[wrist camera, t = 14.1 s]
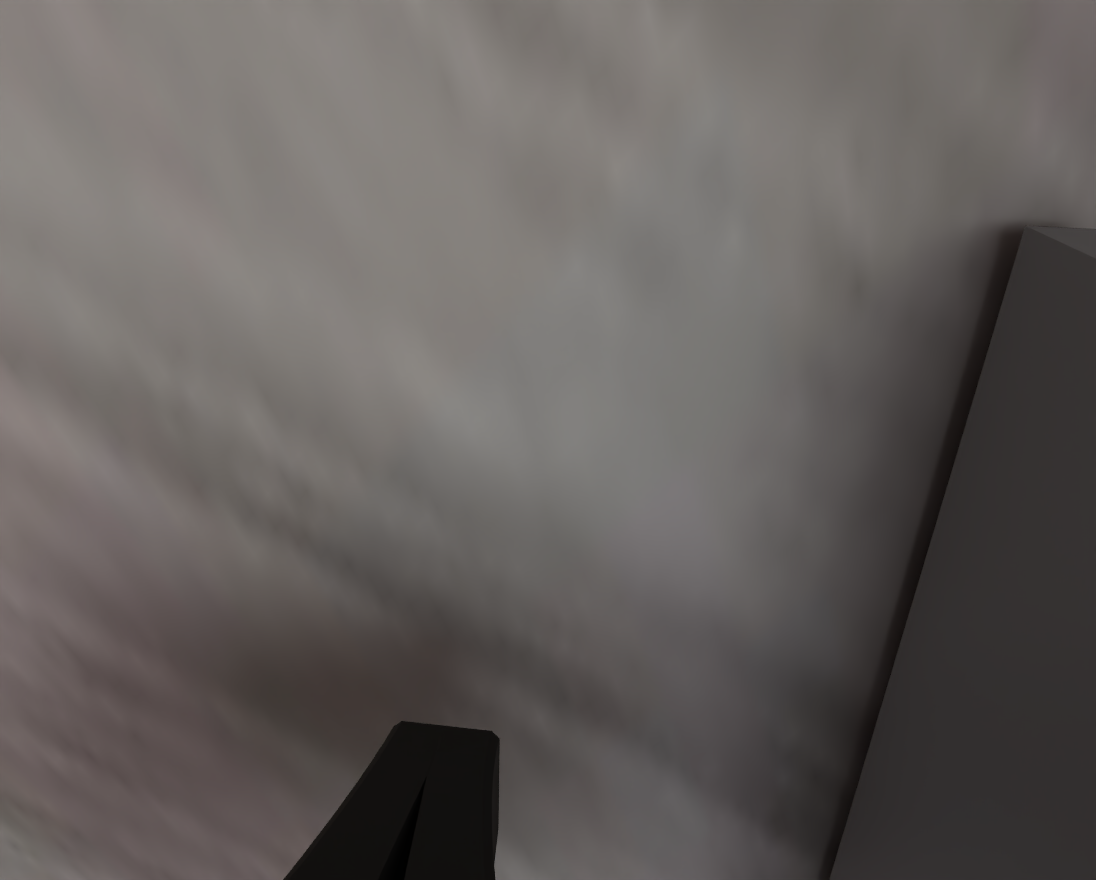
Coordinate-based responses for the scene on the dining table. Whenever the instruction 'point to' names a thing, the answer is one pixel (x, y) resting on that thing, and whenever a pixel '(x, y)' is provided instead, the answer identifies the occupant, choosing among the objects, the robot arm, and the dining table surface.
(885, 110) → the dining table surface
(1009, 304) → the drawer
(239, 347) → the dining table surface
